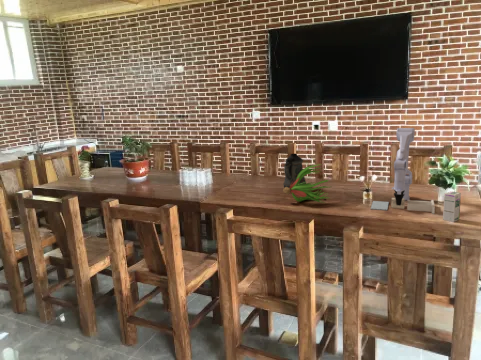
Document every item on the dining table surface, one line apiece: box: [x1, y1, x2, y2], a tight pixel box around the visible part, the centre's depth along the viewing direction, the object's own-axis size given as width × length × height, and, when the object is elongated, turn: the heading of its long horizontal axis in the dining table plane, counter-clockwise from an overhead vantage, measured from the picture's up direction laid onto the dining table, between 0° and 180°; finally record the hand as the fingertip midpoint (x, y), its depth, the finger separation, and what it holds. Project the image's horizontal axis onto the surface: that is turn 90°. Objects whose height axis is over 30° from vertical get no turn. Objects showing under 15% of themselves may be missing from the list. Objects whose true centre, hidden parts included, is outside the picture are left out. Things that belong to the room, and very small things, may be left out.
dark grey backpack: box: [282, 153, 307, 189], centre depth 280 cm, size 16×19×25 cm
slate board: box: [370, 200, 390, 211], centre depth 232 cm, size 16×9×1 cm, turn 157°
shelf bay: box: [406, 199, 436, 215], centre depth 223 cm, size 16×14×4 cm
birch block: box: [390, 197, 406, 210], centre depth 228 cm, size 4×7×5 cm, turn 67°
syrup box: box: [442, 190, 462, 223], centre depth 202 cm, size 6×6×14 cm
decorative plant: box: [282, 162, 333, 204], centre depth 247 cm, size 26×25×30 cm
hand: (398, 203), depth 228 cm, fingers open, 7 cm apart
